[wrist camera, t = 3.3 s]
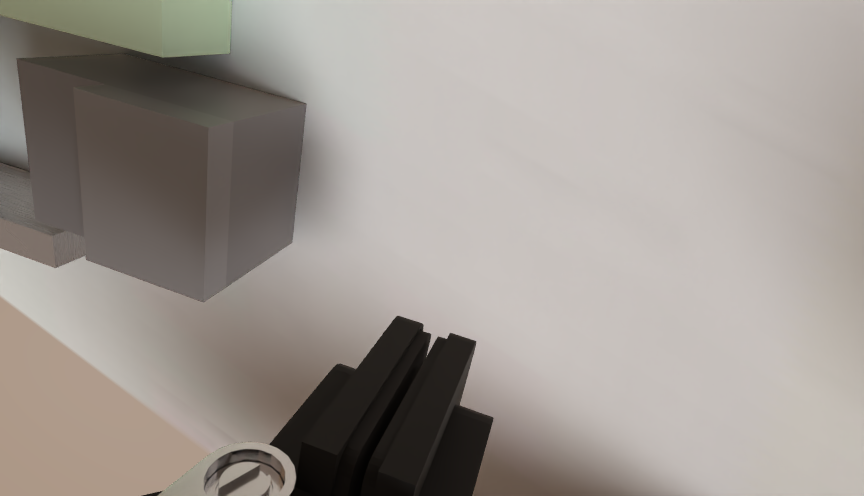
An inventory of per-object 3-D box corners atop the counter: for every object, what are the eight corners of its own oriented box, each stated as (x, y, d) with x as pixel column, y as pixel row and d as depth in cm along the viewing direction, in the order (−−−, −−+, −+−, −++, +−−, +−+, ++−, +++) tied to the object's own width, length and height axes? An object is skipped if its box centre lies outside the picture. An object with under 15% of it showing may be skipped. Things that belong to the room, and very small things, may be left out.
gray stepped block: (127, 53, 19) (-20, 60, 14) (308, 103, 18) (208, 127, 13) (132, 188, 21) (4, 230, 16) (294, 241, 20) (203, 302, 15)
